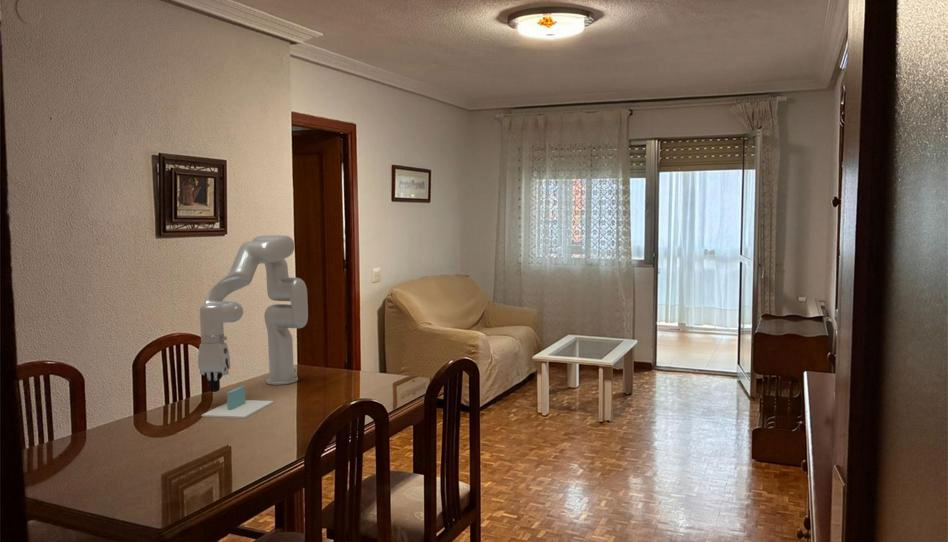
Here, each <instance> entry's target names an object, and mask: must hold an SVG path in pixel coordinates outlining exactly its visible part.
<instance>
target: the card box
mask: <svg viewBox="0 0 948 542" xmlns="http://www.w3.org/2000/svg"><path fill="white" fill-rule="evenodd" d="M245 390H246V389H245V386H244V385H242V386H238V387H235V388H233V389H231V390H229V391H227V392H226V401H227V402H226V403H227V407H228V410H232V409H234V408H236V407H238V406H240V405H242V404H244V403H245V400H246V391H245Z"/></svg>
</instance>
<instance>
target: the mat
mask: <svg viewBox="0 0 948 542" xmlns="http://www.w3.org/2000/svg"><path fill="white" fill-rule="evenodd" d="M274 403H275V401H273V400H253V399H252V400H250V399H247V400H246V399H245V403H244V404H242V405H240V406H238V407H236V408H234V409H232V410H228V407H227V402H225V403H224V404H221V405H219V406H217V407H215V408H213V409H211V410H208V411H207V412H205V413H202V414H201V417H203V418H225V419H226V418H227V419H230V418H231V419H246V418H249V417H250V416H252V415H254V414H256V413H257V412H260V411H262V410H263V409H265V408H267V407H268V406H270V405H273V404H274Z"/></svg>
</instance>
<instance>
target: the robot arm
mask: <svg viewBox="0 0 948 542" xmlns="http://www.w3.org/2000/svg"><path fill="white" fill-rule="evenodd" d="M295 247H296V245H295V242H294V239H293V238H292V237H290V236H289V235H280V234H279V235H272V234H271V235H257V236H255V237H253V239H252V241H246V242H243V243H242V244H241V246H240V247H239V248H238V251H237V254H236V256H235V258H234V261H233V262H232V265H231V267H230V270H229V272H228V273H227V275H225V276H223V278H222V279H220V280H219V281H218V282H217V283H215V285H213V287H211V288H210V290H209V291H208V293H207V296H206V298H205V300H204V303H203V304H202V305H201V306H200V307H199V320H200V321H199V323H200V342H201V343H200V344H199V348H198V357H197V360H198V361H197V363H198V365H197V367H198V370H199V374H200V375H202V376H205V377H206V379H207V381H209V391H210V393H216V392H219V391H220V389H221V385H220V384H221V382H220V381H221V379H222V378H223V376H227V375H230V372H229V370H230V369H231V358H230V351H229V348H228V344H227V342H225V341H227V339H228V338H227V336H225V333H224V332H225V331H224V324H225V323H236V322H237V321H240V319H241V318H242V317H243V314H244V309H243V306H242V305H241V304H240V303H238V302H236V301H231V300H230V301H227V300H225V298H227V297H228V295H230V294H232V293H234V292H236V291H238V290H240V289H243V288H245V287H248V286H249V285H250V284H251V283H252V280H253V278H254V276H255V273H256V271H257V269H258V266H259V265H260V264H264V267H265V271H266V273H265V275H266V277H265V278H266V291H267V297H268V298H269V299H270V300H271V301H275V302H290V304H287V303H277V304H272V305H269V306H268V307H267V308H265V310H264V315H263V316H264V323H265V326H266V331H267V344H268V349H267V350H268V368H269V377H268V378H266V380H265V383H266V384H267V385H272V386H277V385H278V386H279V385H280V386H282V385H283V386H284V385H289V384H294V383H296V382H298V380H299V378H298V376H296V375H295V373H297V371H298V368H297V367H294V345H293V336H292V334H291V331H290V329H302V328H304V327H306V325H307V324H308V319H309V305H308V288H307V285H306V283H305V281H304V280H303V279H301V278H300V277H290V276H289V267H288V262H287V260H286V259H287V258H289V257H291V256H292V254H293V253H294V251H295Z"/></svg>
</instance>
